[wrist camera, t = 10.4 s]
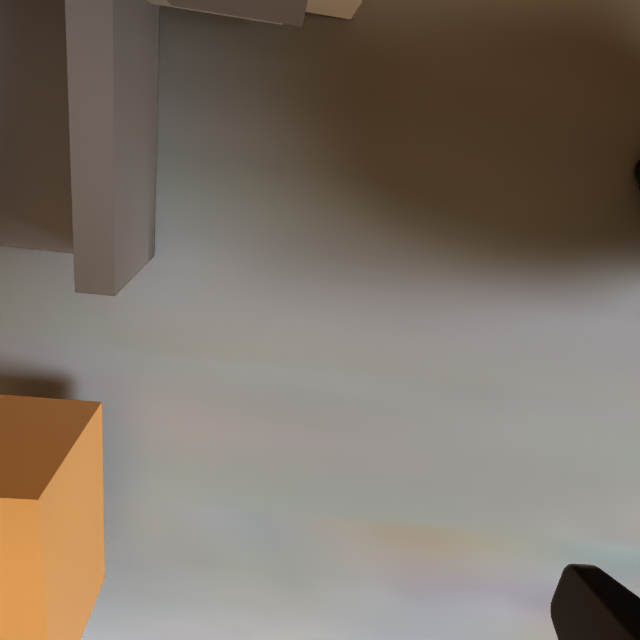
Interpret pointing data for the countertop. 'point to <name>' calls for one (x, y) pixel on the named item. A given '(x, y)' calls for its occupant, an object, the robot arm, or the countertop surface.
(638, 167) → the robot arm
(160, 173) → the countertop surface
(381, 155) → the countertop surface
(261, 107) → the countertop surface
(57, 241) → the socket box
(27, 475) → the plug
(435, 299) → the countertop surface
